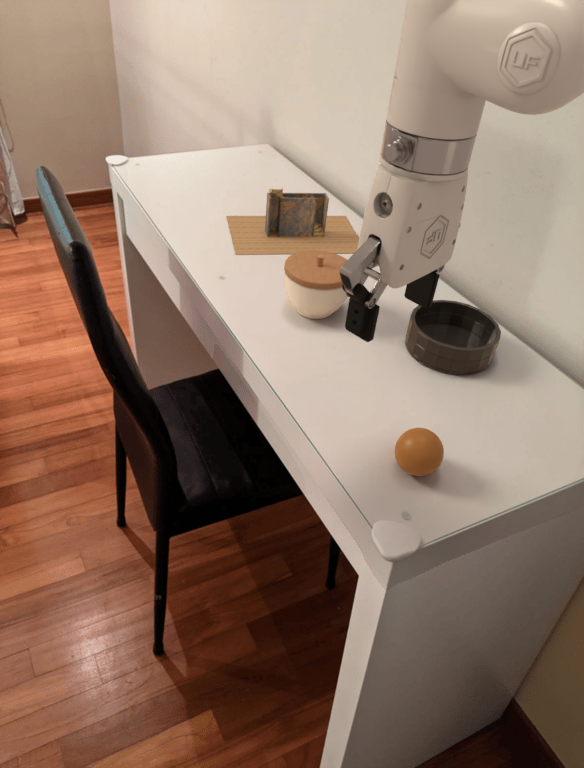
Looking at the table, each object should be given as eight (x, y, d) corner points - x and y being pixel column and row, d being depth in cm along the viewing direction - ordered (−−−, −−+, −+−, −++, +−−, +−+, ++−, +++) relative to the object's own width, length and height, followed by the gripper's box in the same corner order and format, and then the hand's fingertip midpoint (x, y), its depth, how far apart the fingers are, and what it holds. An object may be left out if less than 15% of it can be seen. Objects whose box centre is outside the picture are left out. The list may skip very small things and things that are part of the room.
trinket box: (359, 307, 100) (368, 255, 94) (324, 335, 93) (332, 281, 87) (304, 284, 104) (310, 233, 98) (267, 310, 97) (271, 256, 91)
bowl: (495, 337, 97) (504, 313, 94) (487, 385, 87) (496, 360, 84) (414, 315, 99) (420, 292, 97) (396, 360, 90) (402, 335, 87)
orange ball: (440, 459, 74) (452, 426, 71) (433, 492, 70) (444, 458, 67) (396, 445, 76) (405, 412, 72) (386, 476, 71) (395, 443, 68)
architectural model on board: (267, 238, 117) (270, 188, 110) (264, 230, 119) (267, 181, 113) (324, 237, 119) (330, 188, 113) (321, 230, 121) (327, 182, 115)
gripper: (399, 184, 45) (363, 368, 55) (516, 143, 55) (465, 306, 66) (324, 153, 48) (304, 331, 59) (446, 120, 59) (409, 277, 69)
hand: (389, 318), depth 62 cm, fingers open, 9 cm apart
